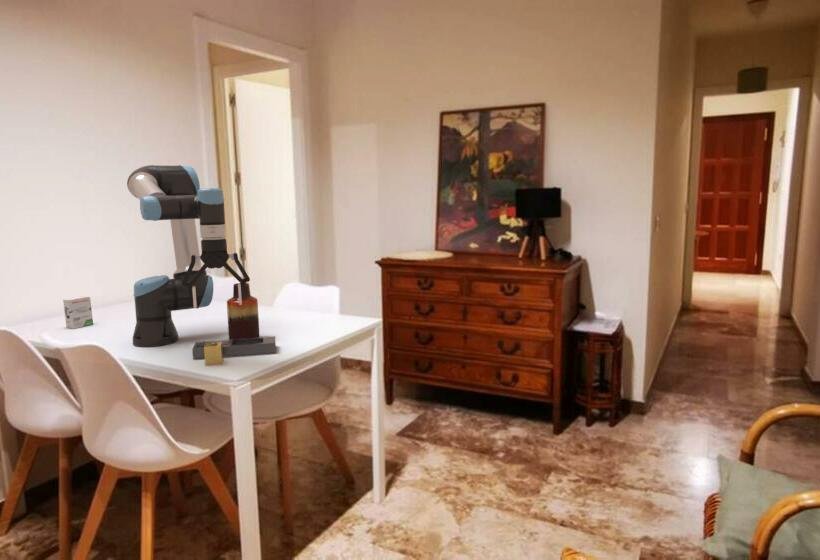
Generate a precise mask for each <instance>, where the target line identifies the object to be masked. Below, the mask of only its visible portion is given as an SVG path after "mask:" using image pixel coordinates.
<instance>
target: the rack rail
mask: <svg viewBox="0 0 820 560" xmlns="http://www.w3.org/2000/svg"><path fill="white" fill-rule="evenodd" d="M214 341H215V342H222V347H223V358H228V357H229V358H230V357H231V358H232V357H241V356H242V357H243V356H254V355H255V356H256V355H258V356H259V355H268V354H277V349H276V348H277V347H276V345H277V344H276V335H274V336H262V337H258V338H243V339H229V338H228V339H219V340H215V339H214V340H202V341H195V343H194V345H193V347H192V360H205V355H204V346H205V343H209V342H214Z"/></svg>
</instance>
